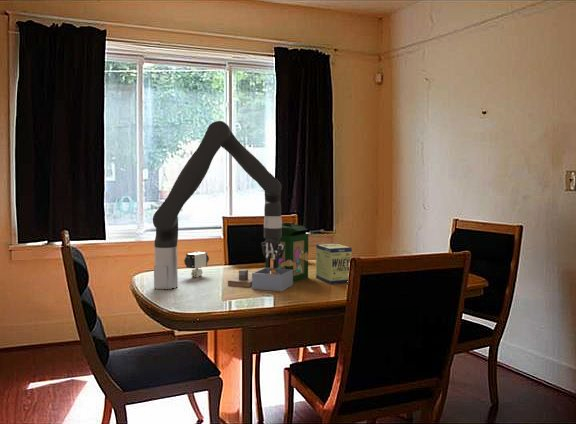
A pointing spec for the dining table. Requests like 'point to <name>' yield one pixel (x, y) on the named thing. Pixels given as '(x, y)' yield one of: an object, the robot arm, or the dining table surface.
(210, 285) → the dining table surface
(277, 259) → the robot arm
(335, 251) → the protein box
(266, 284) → the bin
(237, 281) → the stud block
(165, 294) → the dining table surface
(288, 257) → the container
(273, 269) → the peg block
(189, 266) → the pneumatic valve
